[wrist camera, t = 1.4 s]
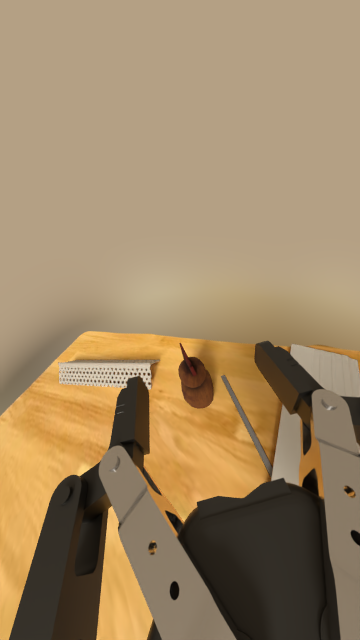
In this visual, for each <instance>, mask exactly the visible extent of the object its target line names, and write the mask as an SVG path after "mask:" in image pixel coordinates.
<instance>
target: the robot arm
mask: <svg viewBox="0 0 360 640" xmlns="http://www.w3.org/2000/svg"><path fill="white" fill-rule="evenodd" d="M255 363H256V365H257V367H258V369H259V370H260V371H261V373H262V374H263V376H264V377H265V379H266V380H267V382H268V383H269V385H270V386H271V387H272V389H273V390H274V392H275V393H276V395H277V396H278V398H279V399H280V401H281V402H282V403H283V405H284V406H285V408H286V409H287V411H288V412H289V414H290V415H292V414H296V413H297V414H298V415H299V417H300V418H301V419H300V437H301V459H300V464H299V486H298V485H296V484H292V483H287V482H286V481H285V479H284V478H280V479H277V480H273V481H270V482H266V483H263V484H261V485H260V486H259V487H257V488H256V489H255V490H254V491H252V492H251V493H250V494H249V495H247V496H246V497H245V498H232V497H222V496H217V497H213V498H210V499H206V500H203V501H199V502H197V506H198V507H197V508H195V509H194V510H193V511H192V512H191V513H190V515H189V516H188V517H187V519H186V520H185V522H183V520H182V519H181V517H180V516H179V514H178V513H177V511H176V510H175V508H174V507H173V506H172V504H171V503H170V502H169V500H168V499H167V498H166V497H165V496H164V494H163V493H162V491H161V490H160V488H159V487H158V485H157V484H156V482H155V481H154V479H153V478H152V476H151V475H150V473H149V472H148V470H147V469H146V467H145V466H144V455H146V454H150V447H149V392H148V388H147V386H146V385H145V383H144V381H143V380H142V378H141V376H136V377H132V378H129V379H128V380H127V387H126V388H124V389H122V390H121V392H120V394H119V396H118V398H117V404H116V410H115V416H114V422H113V429H112V435H111V441H110V446H109V449H108V451H107V452H106V453H105V455H104V456H103V458H102V460H101V461H100V462H99V463H98V464H97V465H95V466H94V467H92V468H91V469H90V470H88V471H87V472H85V473H84V474H82V475H81V476H77V475H70V476H68V477H67V478H65V479H64V480H63V481H62V482H61V483H60V484H59V485H58V486H57V488H56V489H55V491H54V493H53V495H52V497H51V500H50V503H49V506H48V510H47V513H46V516H45V520H44V523H43V527H42V530H41V533H40V537H39V540H38V543H37V547H36V550H35V554H34V557H33V560H32V564H31V567H30V570H29V574H28V577H27V581H26V584H25V587H24V591H23V594H22V597H21V601H20V604H19V608H18V611H17V614H16V618H15V621H14V624H13V628H12V631H11V635H10V638H9V640H96V636H97V625H98V615H99V604H100V593H101V582H102V572H103V561H104V550H105V539H106V529H107V518H108V509H109V508H110V507H111V506H113V509H114V511H115V513H116V516H117V518H118V521H119V526H118V532H119V536H120V539H121V542H122V544H123V547H124V549H125V552H126V554H127V557H128V559H129V561H130V564H131V566H132V569H133V571H134V573H135V576H136V578H137V581H138V583H139V585H140V588H141V590H142V593H143V595H144V597H145V600H146V602H147V605H148V607H149V609H150V612H151V614H152V617H153V621H152V625H151V628H150V631H149V635H148V638H147V640H360V453H359V450H358V446H357V443H358V444H359V446H360V397H347V396H339V395H338V394H336V393H334V392H332V391H329V390H326V389H324V388H323V387H322V386H321V385H320V384H319V383H318V382H317V381H316V380H315V379H314V378H313V377H312V376H311V375H310V374H309V373H308V372H307V371H306V370H305V369H304V368H303V367H302V366H301V365H299V363H298V362H297V361H296V360H295V359H294V358H293V357H292V356H291V354H290V353H289V352H288V351H286V350H284V349H283V348H281V347H279V346H278V347H274V346H273V345H272V344H271V343H270V342H269V341H265V342H261V343H258V344H256V346H255Z"/></svg>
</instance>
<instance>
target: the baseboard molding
mask: <svg viewBox="0 0 360 640" xmlns="http://www.w3.org/2000/svg"><path fill="white" fill-rule="evenodd" d="M290 354H291V356H292V357H293V358H294V359H295V360H296V361H297V362H298V363H299V365H301V366H302V367H303V368H304V369H305V370H306V371H307V372H308V373H309V374H310V375H311V376H312V377H313V378H314V379H315V380H316V381H317V382H318V383H319V384H320V385H321V386H322V387H323V388H324V389H326V390H329V391H332V392H334V393H336V394H338V395H339V396H347V397H360V374H359V368H358V361H357V360H355V359H351V358H349V357H348V356H346V355H340V354H336V353H333V352H327V351H323V350H318V349H313V348H310V347H305V346H301V345H296V344H291V351H290ZM300 419H301V418H300V417H299V415H298V414H297V413H296V414H292V415H290V414H289V412H288V411H287V409H286V408H285V406H284V405H283V404H282V411H281V418H280V424H279V431H278V438H277V444H276V451H275V458H274V464H273V471H272V478H271V481H273V480H277V479H280V478H284V479H285V481H286V482H287V483H292V484H296V485H298V486H299V464H300V459H301V437H300ZM357 446H358V450H359V453H360V446H359V444H358V443H357Z"/></svg>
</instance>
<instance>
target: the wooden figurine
mask: <svg viewBox="0 0 360 640" xmlns="http://www.w3.org/2000/svg"><path fill="white" fill-rule="evenodd" d="M180 347H181V350H182V354H183V358H184V360H183V361H182V362H181V364H180V366H179V377H180V379H181V385H182V392H183V395H184V399H185V401H186V402H188V403H189V404H190V405H191V406H192V407H195V408H205V407H207V406H209V405H210V403H211V402H212V401H213V385H212V380H211V377H210V374H209V372H208V371H207V370H206V369H205V367H204V364H203V363H202V362H201V361H200V360H199V359H198V358H195V357H188V356H187V354H186V352H185V351H184V349H183V347H182V345H181V343H180Z"/></svg>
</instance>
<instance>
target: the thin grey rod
mask: <svg viewBox="0 0 360 640" xmlns="http://www.w3.org/2000/svg"><path fill="white" fill-rule="evenodd" d="M221 377H222V379H223V381H224V383H225V385H226V387H227V389H228V392H229V394H230V396H231V398H232V400H233V402H234V404H235V406H236V408H237V410H238V412H239V414H240V416H241V418H242V420H243V422H244V424H245V426H246V428H247V430H248V432H249V434H250V436H251V438H252V440H253V442H254V444H255V446H256V448H257V450H258V452H259V454H260V456H261V458H262V460H263V462H264V464H265V467H266V469H267V471H268V473H269V475H270V477H271V478H272V471H273V468H272V466H271V464H270V462H269V460H268V458H267V456H266V454H265V452H264V450H263V448H262V447H261V445H260V443H259V441H258V439H257V437H256V435H255V433H254V431H253V429H252V427H251V425H250V423H249V421H248V419H247V418H246V416H245V414H244V412H243V410H242V408H241V406H240V404H239V402H238V400H237V398H236V396H235V394H234V392H233V390H232V388H231V387H230V385H229V383H228V381H227V379H226V377H225V375H224V376H221Z"/></svg>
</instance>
